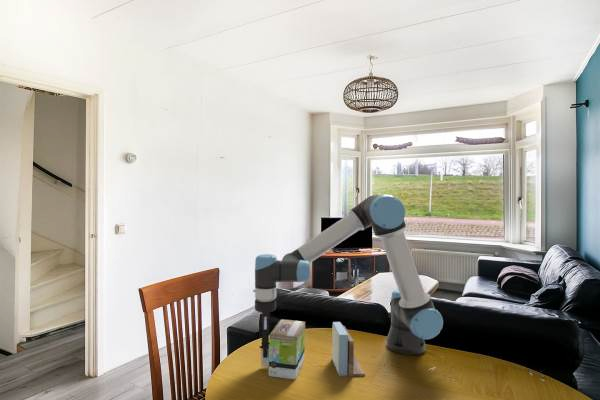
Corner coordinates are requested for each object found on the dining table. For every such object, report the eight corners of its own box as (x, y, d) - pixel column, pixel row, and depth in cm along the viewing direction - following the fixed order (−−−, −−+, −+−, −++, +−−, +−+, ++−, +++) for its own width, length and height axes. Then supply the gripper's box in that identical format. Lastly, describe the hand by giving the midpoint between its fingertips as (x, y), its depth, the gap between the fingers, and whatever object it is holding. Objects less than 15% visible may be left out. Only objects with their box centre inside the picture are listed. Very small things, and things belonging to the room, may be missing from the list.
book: (339, 358, 129) (340, 321, 129) (347, 375, 117) (347, 334, 117) (331, 359, 129) (332, 322, 128) (338, 375, 117) (339, 334, 116)
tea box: (296, 380, 113) (297, 336, 113) (267, 377, 115) (268, 333, 115) (305, 359, 128) (305, 320, 128) (279, 356, 130) (279, 318, 130)
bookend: (354, 356, 130) (354, 325, 130) (364, 375, 116) (365, 340, 116) (340, 357, 130) (340, 325, 130) (349, 376, 116) (349, 341, 116)
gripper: (255, 293, 127) (255, 356, 127) (254, 304, 114) (253, 374, 114) (275, 293, 128) (275, 355, 128) (276, 304, 115) (276, 373, 115)
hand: (265, 364), depth 121 cm, fingers closed
